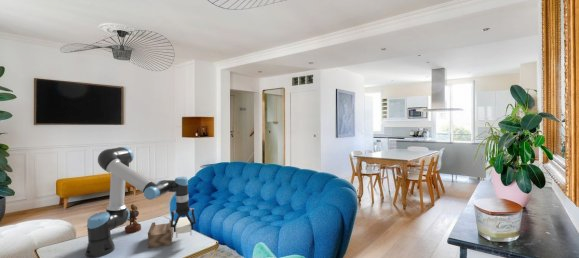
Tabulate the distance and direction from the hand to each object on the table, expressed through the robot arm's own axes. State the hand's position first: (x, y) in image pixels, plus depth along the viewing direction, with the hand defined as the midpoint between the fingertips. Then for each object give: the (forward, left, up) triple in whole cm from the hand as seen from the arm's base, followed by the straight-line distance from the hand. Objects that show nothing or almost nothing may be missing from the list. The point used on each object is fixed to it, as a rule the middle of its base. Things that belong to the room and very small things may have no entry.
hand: (183, 235), depth 179 cm
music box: (-38, +41, -7) cm, 56 cm away
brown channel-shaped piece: (-15, +14, -7) cm, 22 cm away
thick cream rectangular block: (0, +7, +3) cm, 7 cm away
